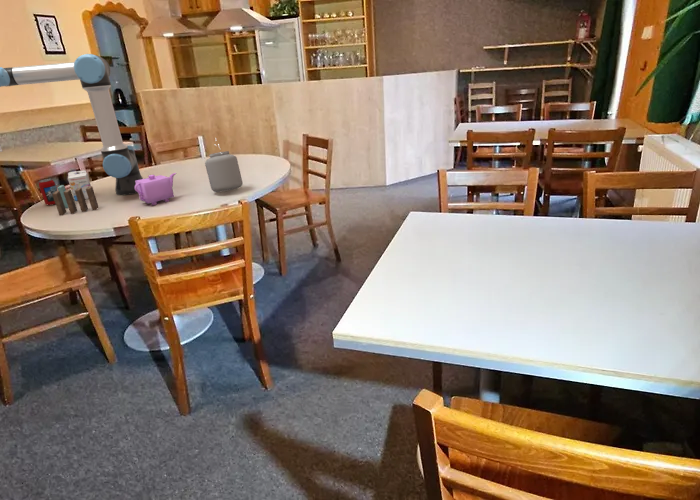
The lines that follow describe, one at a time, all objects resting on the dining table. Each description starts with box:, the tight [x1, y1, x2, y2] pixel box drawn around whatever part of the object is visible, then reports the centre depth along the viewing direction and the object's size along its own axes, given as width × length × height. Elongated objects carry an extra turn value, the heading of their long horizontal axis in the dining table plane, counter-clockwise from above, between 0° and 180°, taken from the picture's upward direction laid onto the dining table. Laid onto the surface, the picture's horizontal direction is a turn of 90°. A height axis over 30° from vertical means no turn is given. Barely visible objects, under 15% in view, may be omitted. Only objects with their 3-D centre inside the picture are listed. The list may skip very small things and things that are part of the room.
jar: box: [204, 137, 244, 193], centre depth 212 cm, size 19×15×25 cm
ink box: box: [67, 170, 92, 202], centre depth 227 cm, size 9×8×13 cm
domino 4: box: [75, 188, 89, 213], centre depth 204 cm, size 2×5×10 cm, turn 16°
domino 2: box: [52, 190, 67, 216], centre depth 202 cm, size 2×5×10 cm, turn 16°
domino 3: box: [63, 188, 78, 215], centre depth 203 cm, size 2×5×10 cm, turn 16°
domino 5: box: [86, 185, 100, 211], centre depth 205 cm, size 2×5×10 cm, turn 16°
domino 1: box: [56, 184, 69, 209], centre depth 213 cm, size 2×5×10 cm, turn 16°
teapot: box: [135, 172, 177, 206], centre depth 208 cm, size 20×10×12 cm, turn 134°
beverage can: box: [38, 178, 58, 206], centre depth 220 cm, size 7×7×12 cm
